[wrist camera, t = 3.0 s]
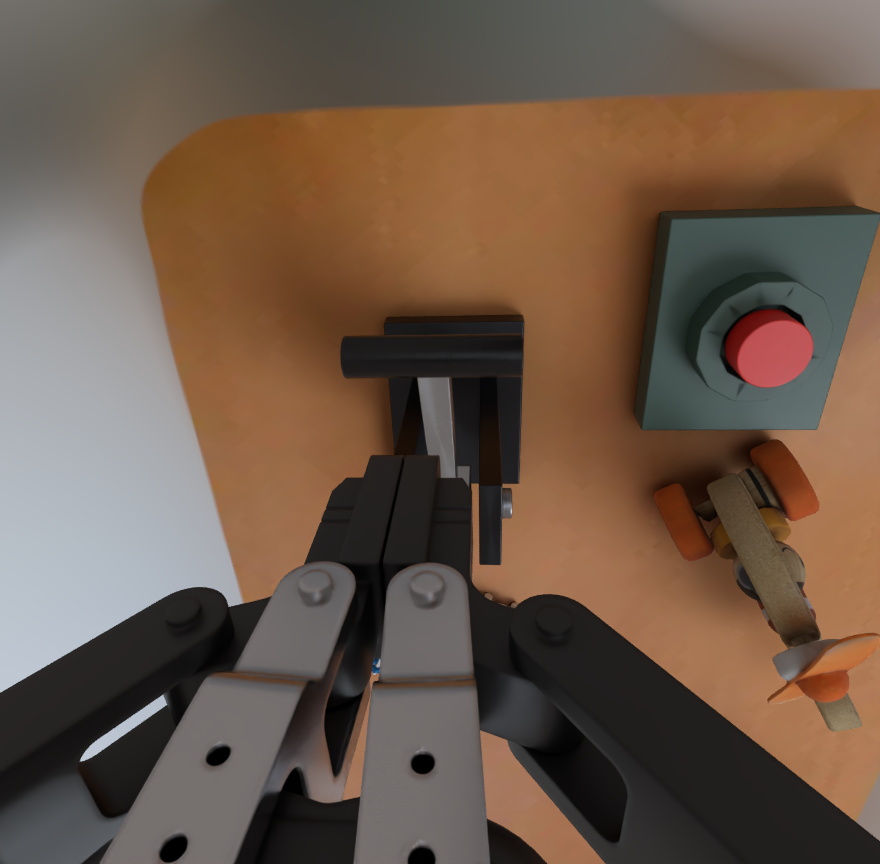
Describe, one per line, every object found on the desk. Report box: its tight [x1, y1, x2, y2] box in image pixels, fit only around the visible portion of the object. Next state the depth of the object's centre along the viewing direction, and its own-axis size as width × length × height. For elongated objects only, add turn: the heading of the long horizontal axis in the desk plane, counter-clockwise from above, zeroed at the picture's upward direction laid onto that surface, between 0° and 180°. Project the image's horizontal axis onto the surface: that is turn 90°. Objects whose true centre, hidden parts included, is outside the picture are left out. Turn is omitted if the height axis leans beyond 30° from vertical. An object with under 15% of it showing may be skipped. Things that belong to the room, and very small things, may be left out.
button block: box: [634, 206, 880, 430], centre depth 33 cm, size 12×10×4 cm
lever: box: [340, 334, 523, 489], centre depth 25 cm, size 12×6×2 cm, turn 1°
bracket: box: [384, 315, 524, 565], centre depth 33 cm, size 11×8×13 cm
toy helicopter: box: [654, 439, 880, 731], centre depth 36 cm, size 8×21×14 cm, turn 33°
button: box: [725, 309, 813, 388], centre depth 31 cm, size 4×4×2 cm
